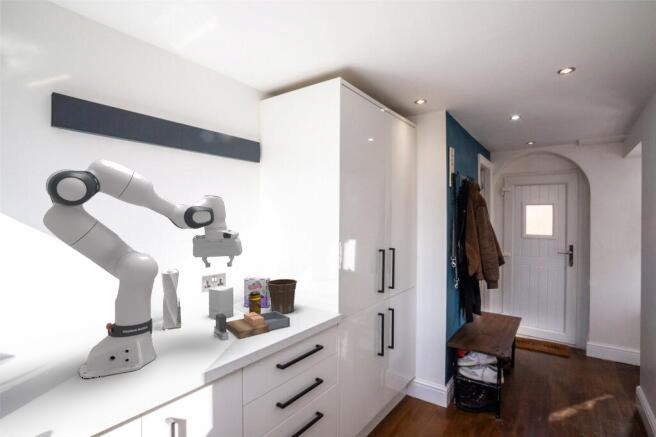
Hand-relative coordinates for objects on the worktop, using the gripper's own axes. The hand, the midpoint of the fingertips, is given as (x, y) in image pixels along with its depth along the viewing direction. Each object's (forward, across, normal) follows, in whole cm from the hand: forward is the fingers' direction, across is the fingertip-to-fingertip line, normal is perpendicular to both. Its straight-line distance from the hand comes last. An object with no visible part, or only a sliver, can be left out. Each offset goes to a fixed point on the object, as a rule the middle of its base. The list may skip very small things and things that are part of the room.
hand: (218, 266), depth 135 cm
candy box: (+35, 0, +48) cm, 59 cm away
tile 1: (+29, +7, +14) cm, 33 cm away
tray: (+33, +16, +17) cm, 41 cm away
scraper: (+31, -2, +1) cm, 31 cm away
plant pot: (+35, +16, +40) cm, 55 cm away
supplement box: (+32, -13, +28) cm, 45 cm away
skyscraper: (+30, -30, +10) cm, 44 cm away
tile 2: (+29, +11, +9) cm, 32 cm away
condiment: (+34, +3, +31) cm, 45 cm away
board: (+32, +7, +9) cm, 34 cm away
